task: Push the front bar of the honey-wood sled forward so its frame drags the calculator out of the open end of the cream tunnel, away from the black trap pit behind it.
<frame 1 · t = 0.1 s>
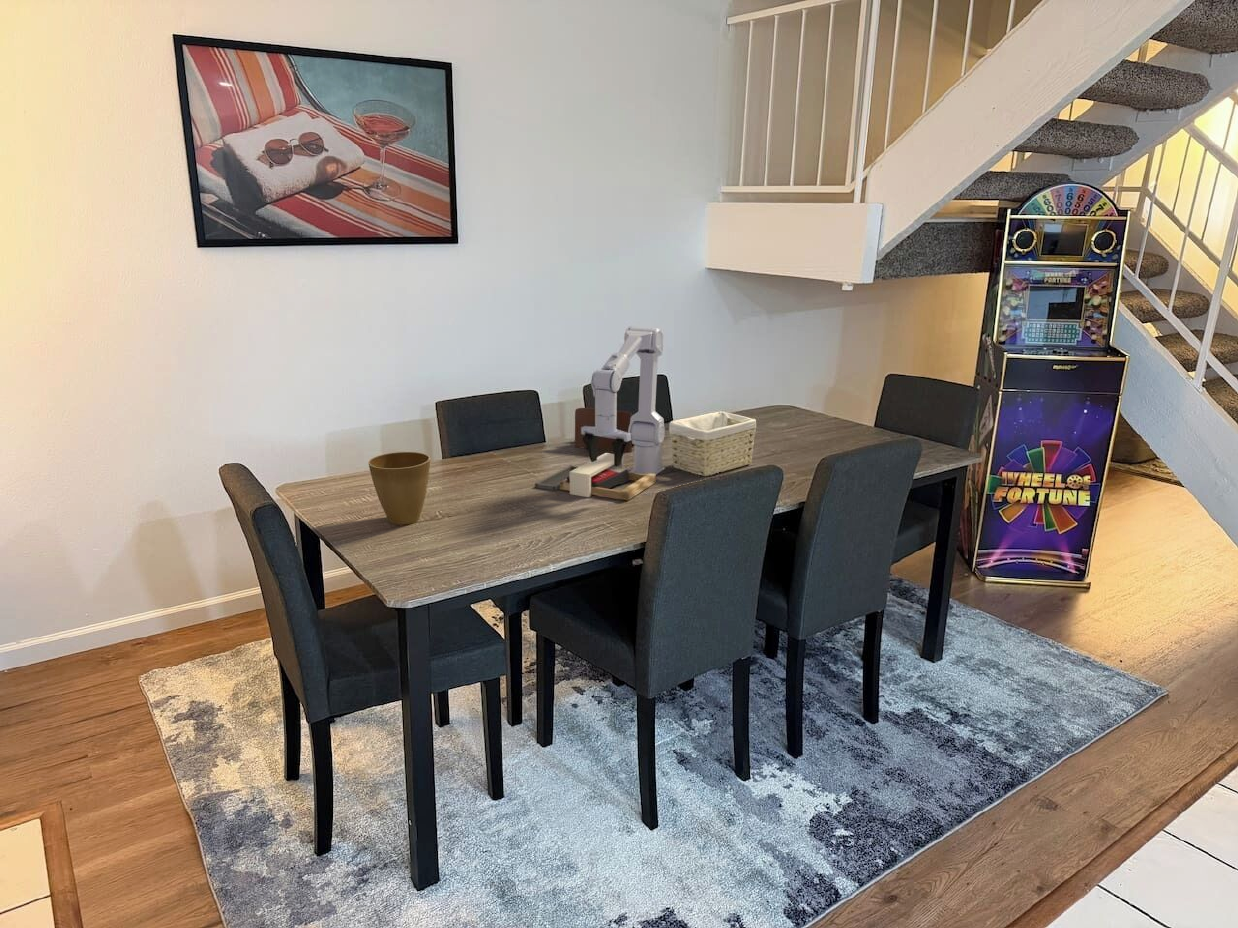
hand: (605, 463, 238), 10 cm above the table, tool pointing down, fingers open, 7 cm apart
plant pot: (403, 520, 221), on the table
tunnel: (597, 485, 251), on the table
sled: (608, 481, 249), point 2 cm above the table, slide at 0.0 cm, touching calculator
calculator: (597, 485, 251), resting in sled
storage basket: (711, 466, 271), on the table
letter holder: (607, 447, 293), on the table
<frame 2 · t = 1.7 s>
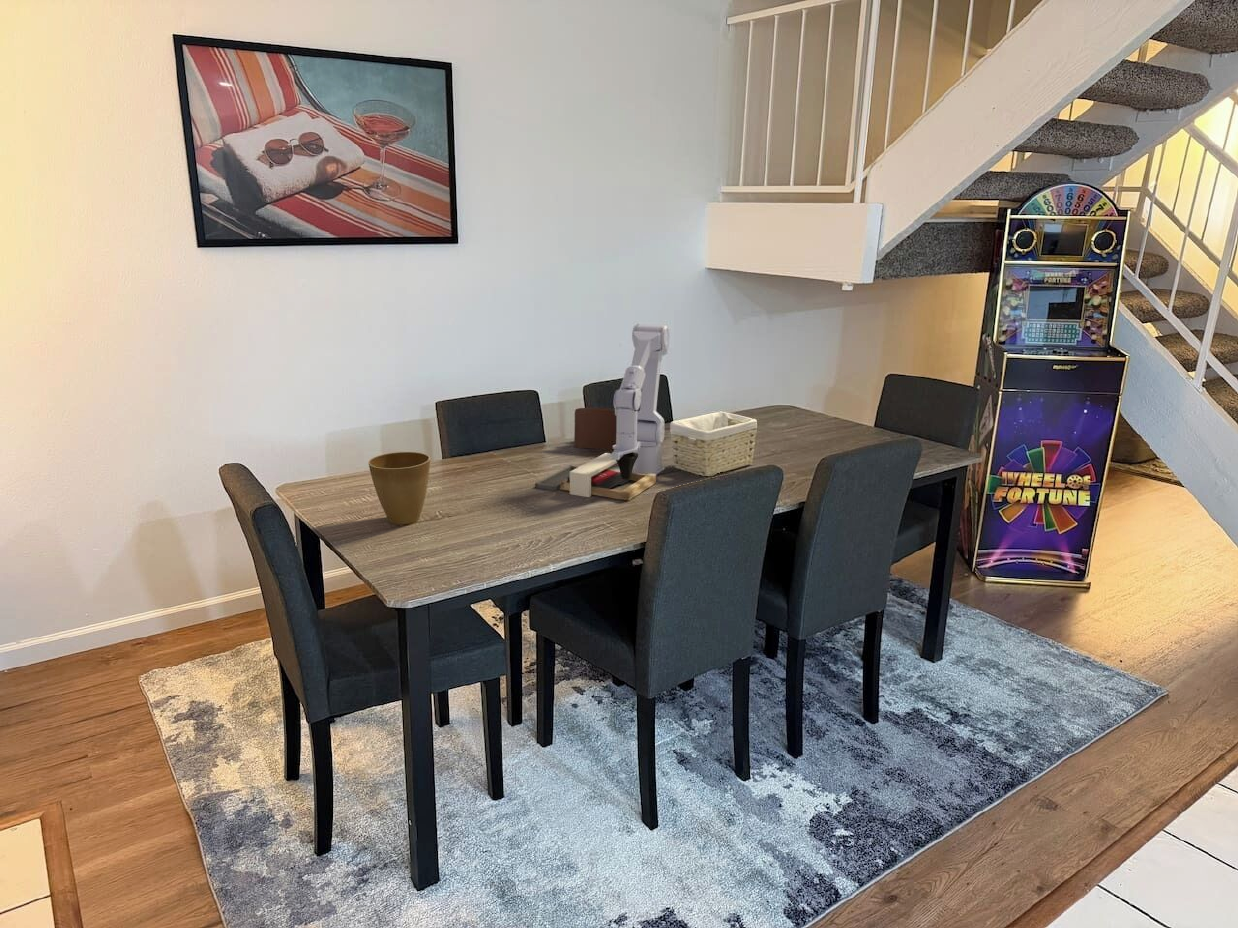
hand: (626, 478, 246), 3 cm above the table, tool pointing down, fingers closed
nothing on the table moved.
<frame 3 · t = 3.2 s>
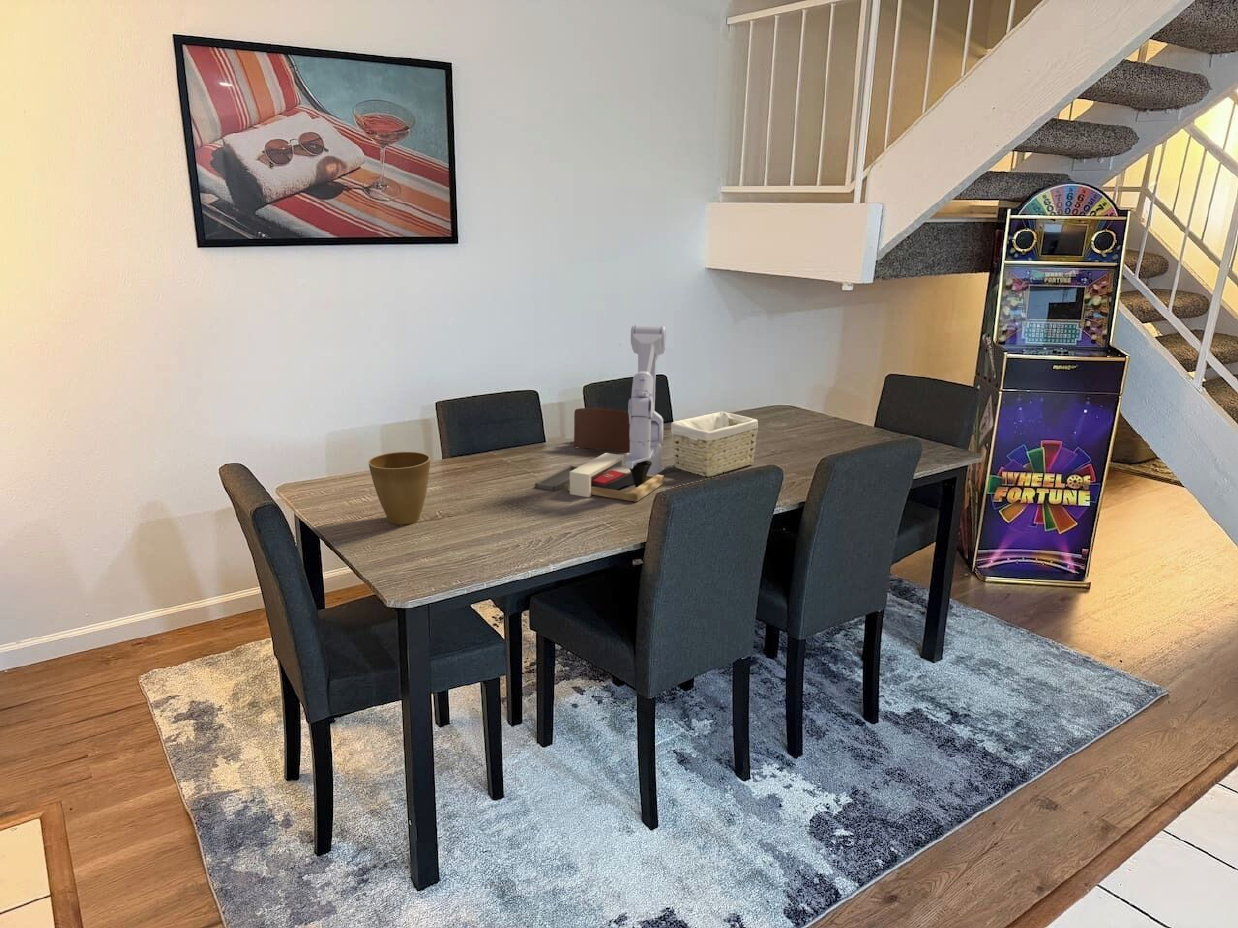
hand: (639, 486, 245), 1 cm above the table, tool pointing down, fingers closed
sled: (616, 482, 248), point 2 cm above the table, slide at 2.5 cm, touching calculator, gripper
calculator: (605, 486, 250), resting in sled
everything else where it was.
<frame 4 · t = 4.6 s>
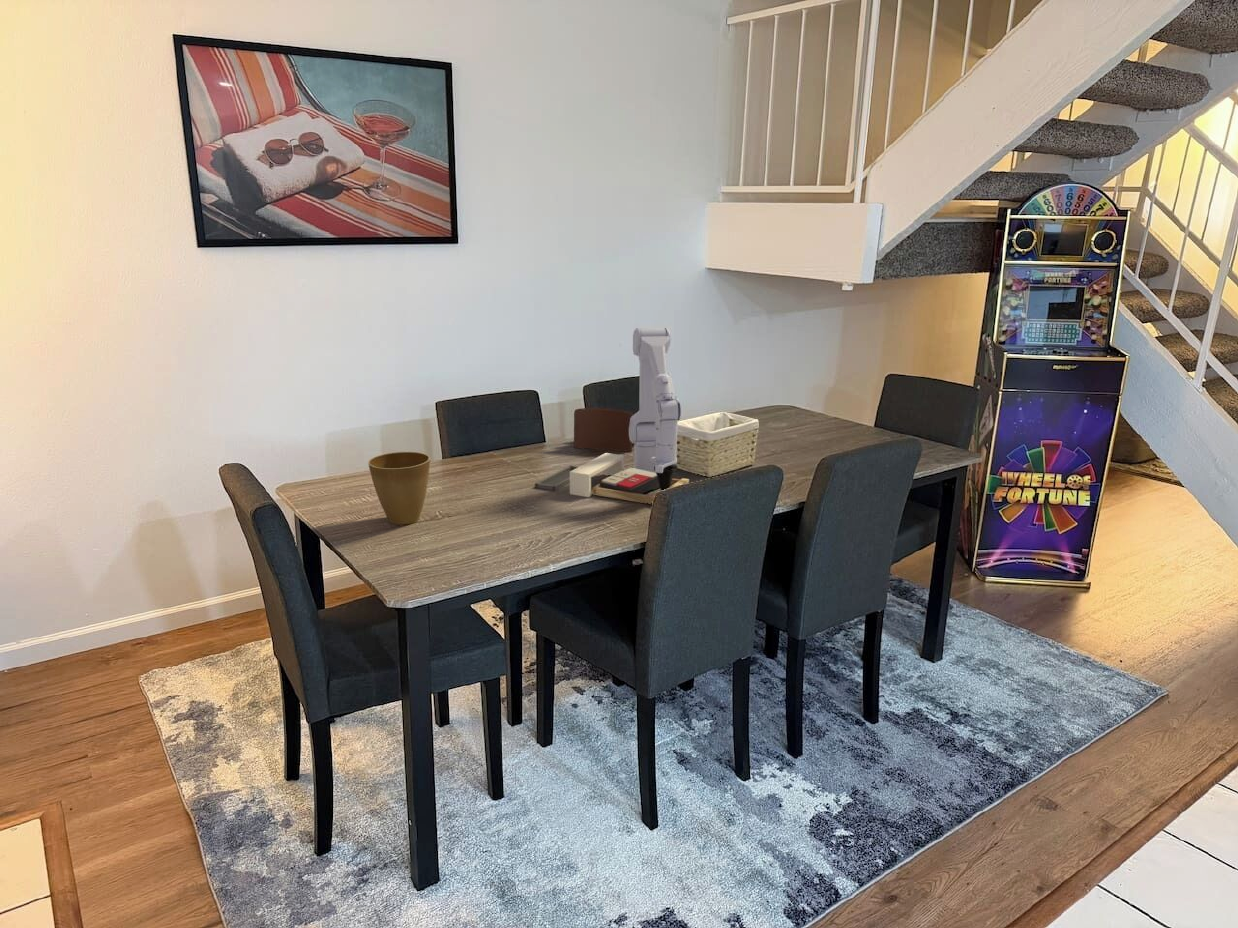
hand: (665, 490, 242), 1 cm above the table, tool pointing down, fingers closed
sled: (641, 486, 245), point 2 cm above the table, slide at 10.4 cm, touching calculator, gripper
calculator: (630, 490, 247), resting in sled
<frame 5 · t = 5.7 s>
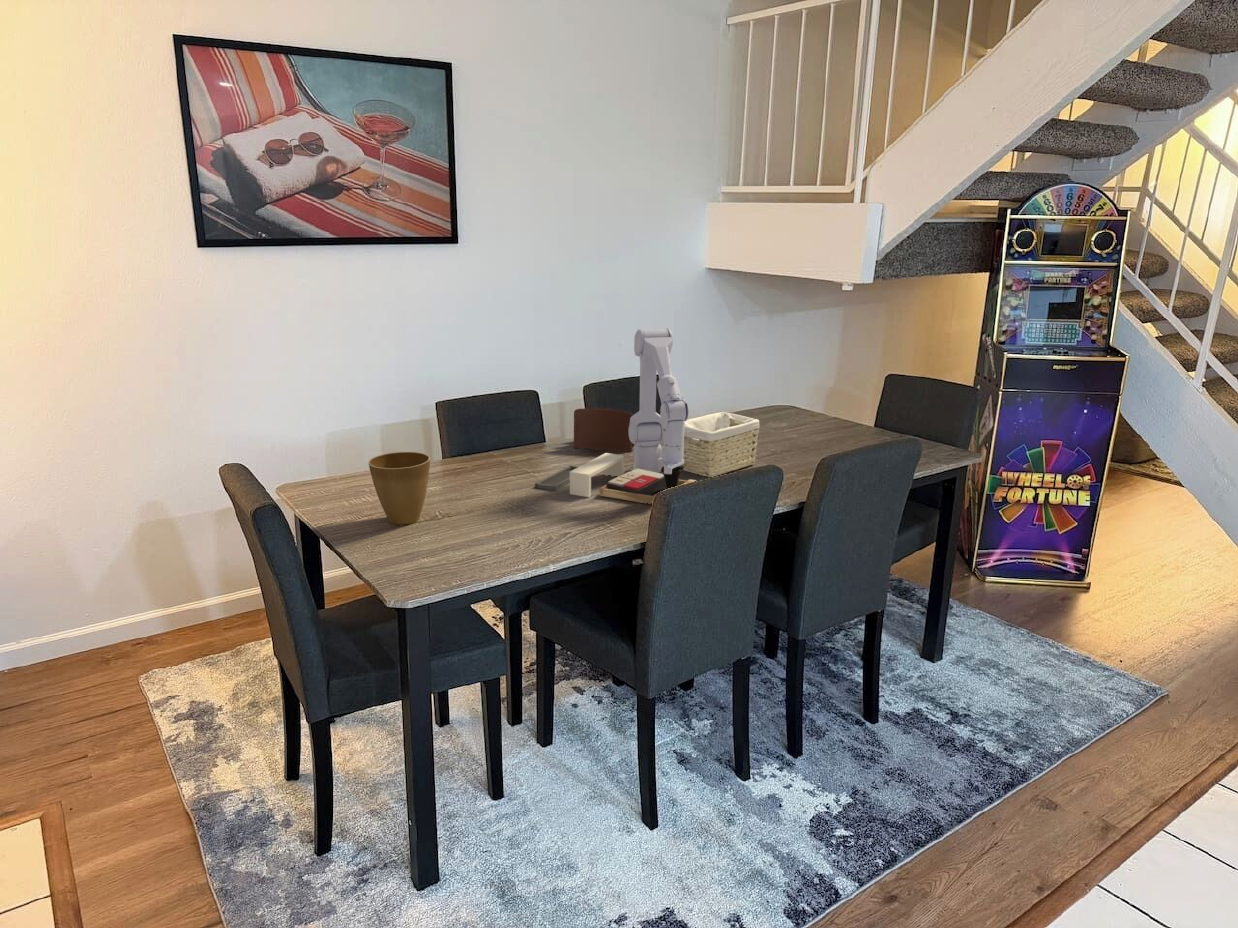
hand: (671, 492, 241), 1 cm above the table, tool pointing down, fingers closed
sled: (648, 487, 244), point 2 cm above the table, slide at 12.5 cm, touching calculator
calculator: (637, 491, 246), resting in sled
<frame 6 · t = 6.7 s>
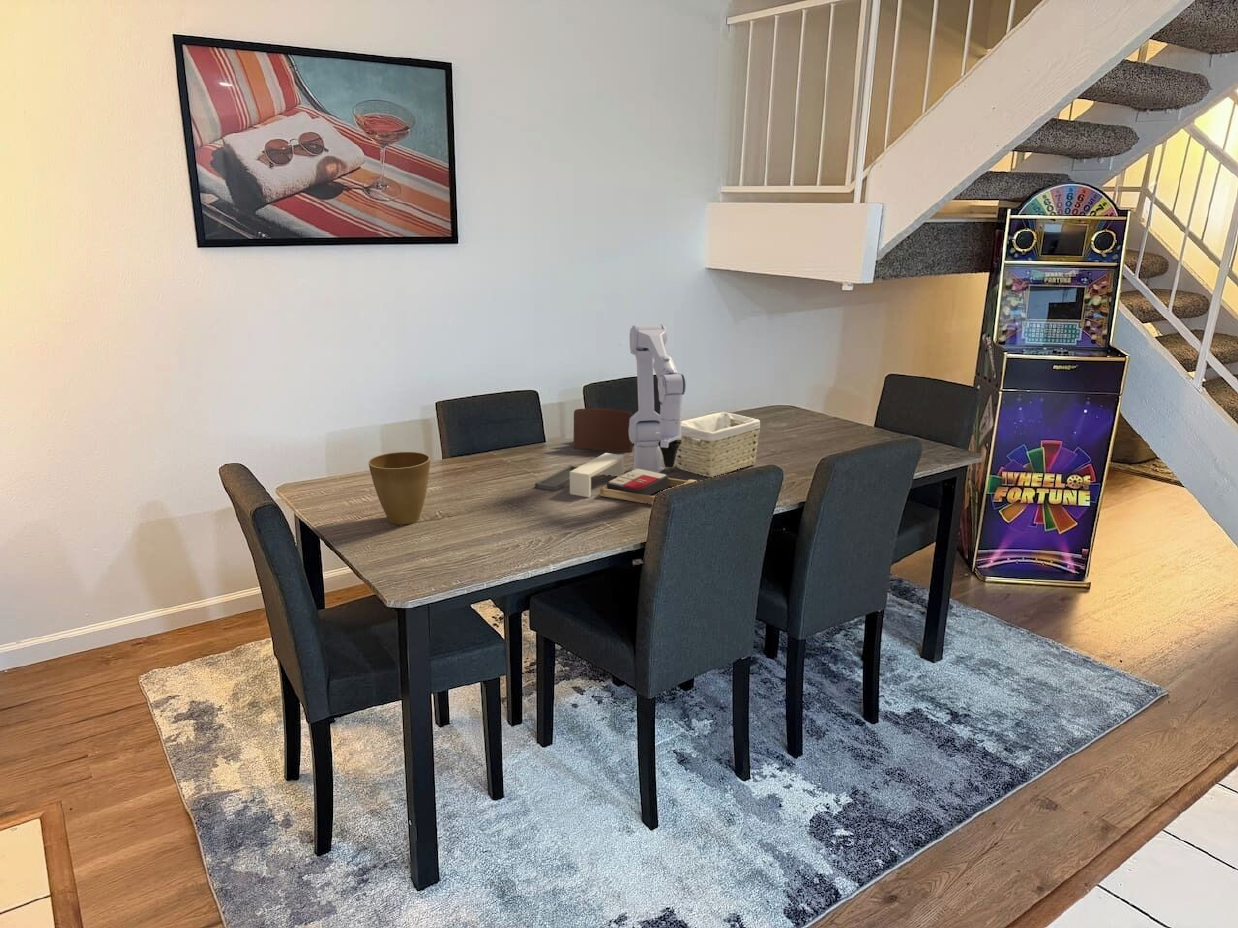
hand: (669, 466, 240), 8 cm above the table, tool pointing down, fingers closed
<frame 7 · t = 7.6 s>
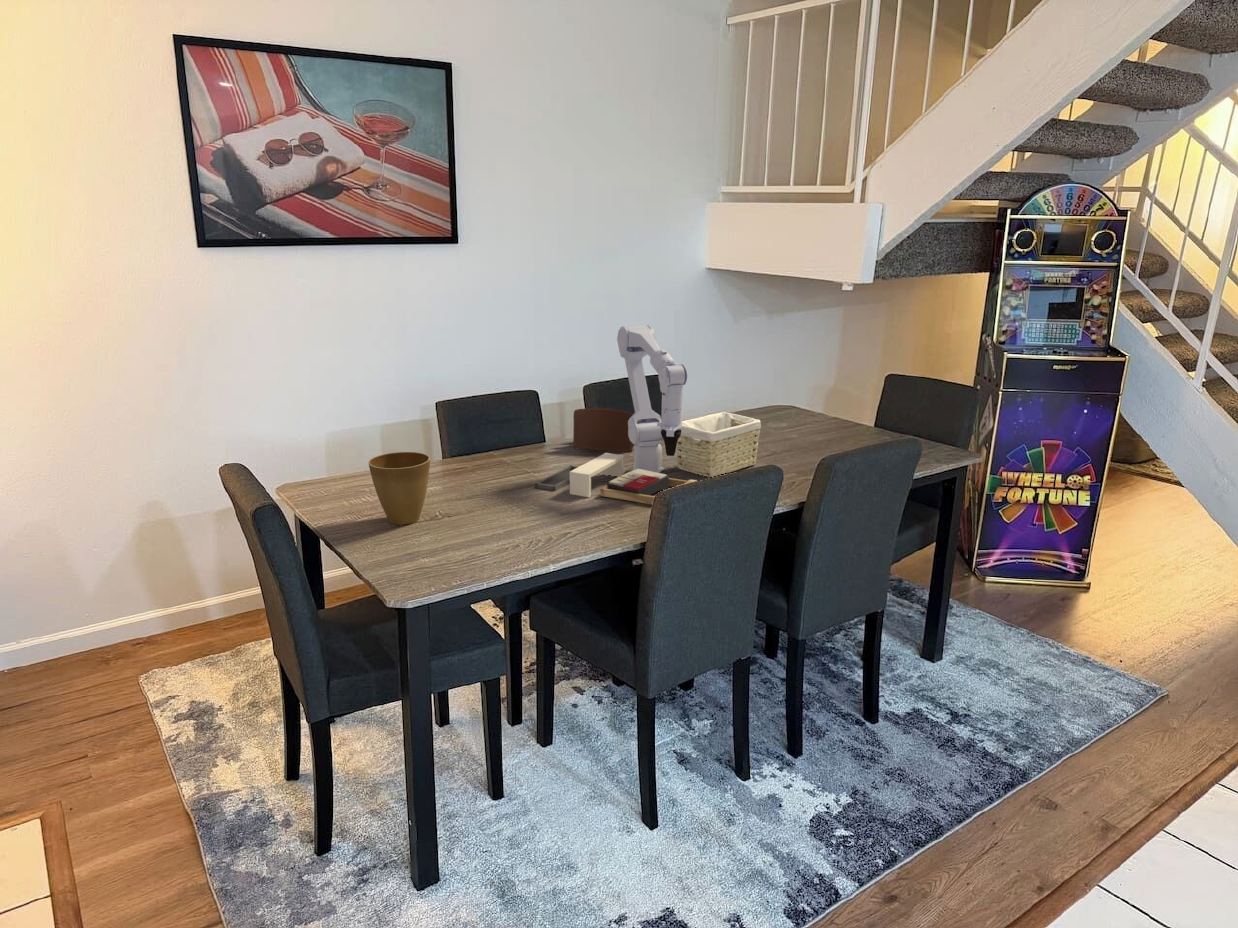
hand: (670, 455, 248), 9 cm above the table, tool pointing down, fingers closed
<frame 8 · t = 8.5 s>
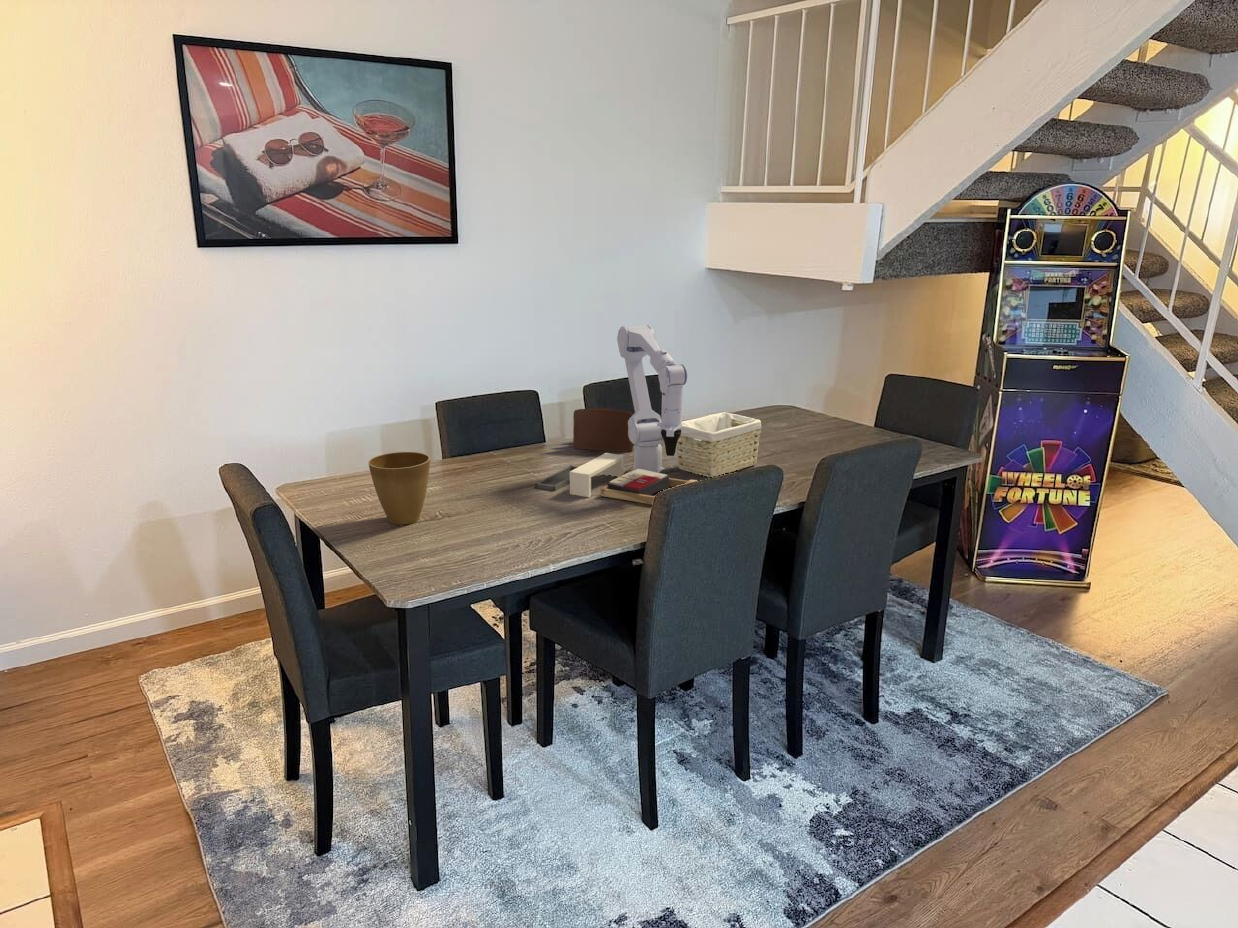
hand: (670, 455, 248), 9 cm above the table, tool pointing down, fingers closed
at the end: calculator inside the target area (1.3 cm from its centre), resting in sled; sled slide at 12.9 cm; calculator tilted 0° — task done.
